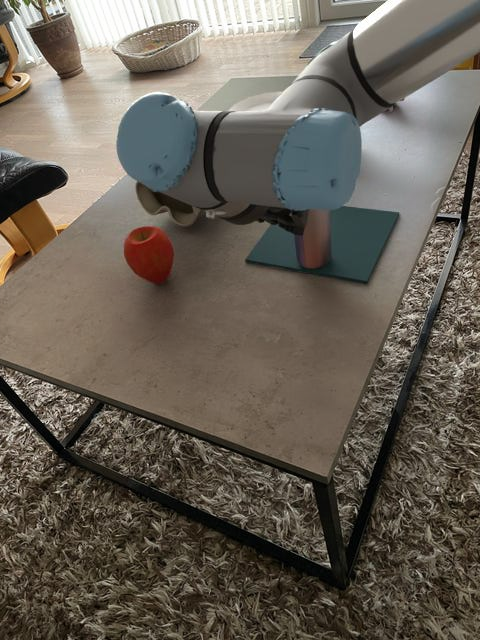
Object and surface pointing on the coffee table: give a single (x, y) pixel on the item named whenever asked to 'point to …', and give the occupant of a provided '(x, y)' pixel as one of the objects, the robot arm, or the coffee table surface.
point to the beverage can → (315, 240)
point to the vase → (167, 206)
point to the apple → (149, 254)
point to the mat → (333, 244)
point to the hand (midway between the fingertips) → (300, 226)
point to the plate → (256, 102)
